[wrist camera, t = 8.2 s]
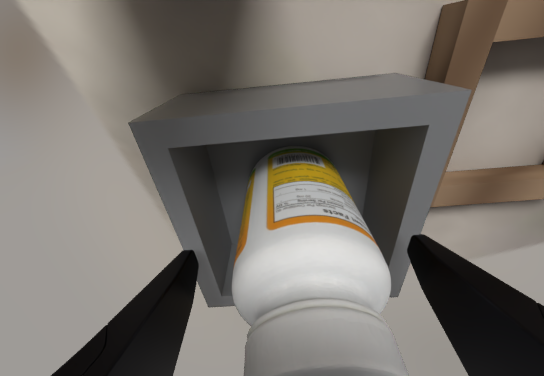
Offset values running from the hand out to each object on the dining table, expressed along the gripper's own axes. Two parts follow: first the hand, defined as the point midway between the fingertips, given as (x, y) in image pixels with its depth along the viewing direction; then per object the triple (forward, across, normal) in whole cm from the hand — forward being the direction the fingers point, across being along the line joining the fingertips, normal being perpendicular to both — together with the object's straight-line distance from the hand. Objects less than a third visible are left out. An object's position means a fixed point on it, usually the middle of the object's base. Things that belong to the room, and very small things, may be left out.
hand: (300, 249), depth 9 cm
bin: (+6, 0, 0) cm, 6 cm away
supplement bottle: (+5, 0, 0) cm, 5 cm away
